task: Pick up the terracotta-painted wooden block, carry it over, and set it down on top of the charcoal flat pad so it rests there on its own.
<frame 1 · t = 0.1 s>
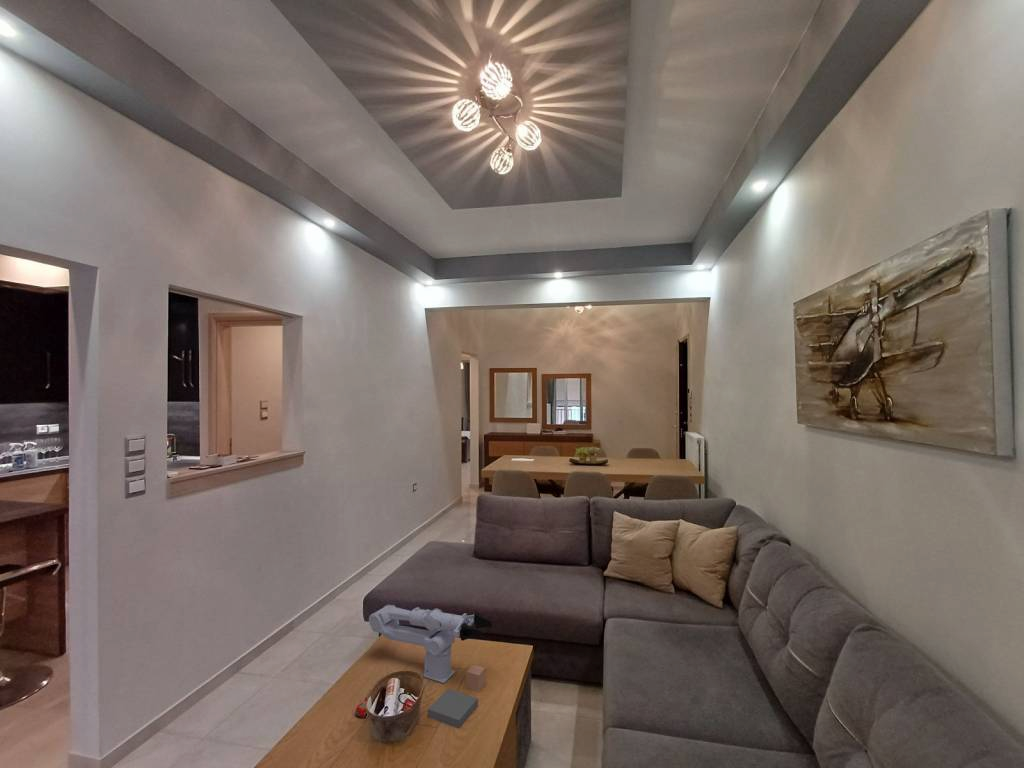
hand: (486, 628, 171), 22 cm above the table, tool horizontal, fingers open, 7 cm apart
race car: (374, 708, 161), on the table
terracotta block: (475, 686, 173), on the table
charcoal flat pad: (453, 712, 159), on the table
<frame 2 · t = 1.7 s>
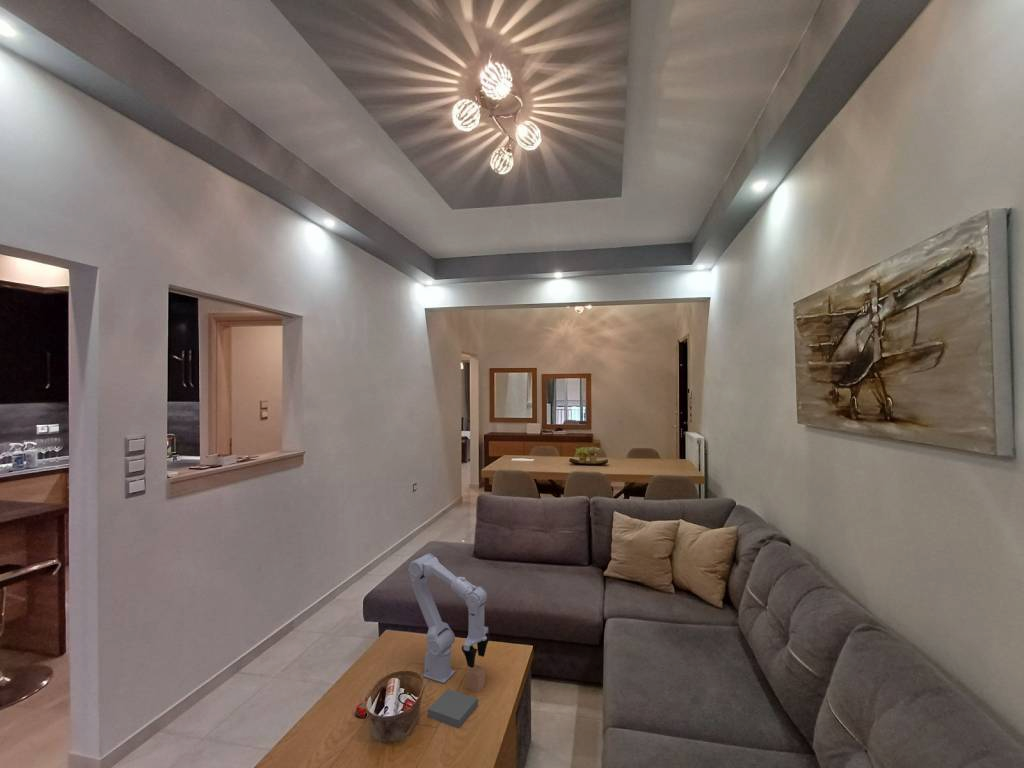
hand: (476, 661, 173), 9 cm above the table, tool pointing down, fingers open, 7 cm apart
nothing on the table moved.
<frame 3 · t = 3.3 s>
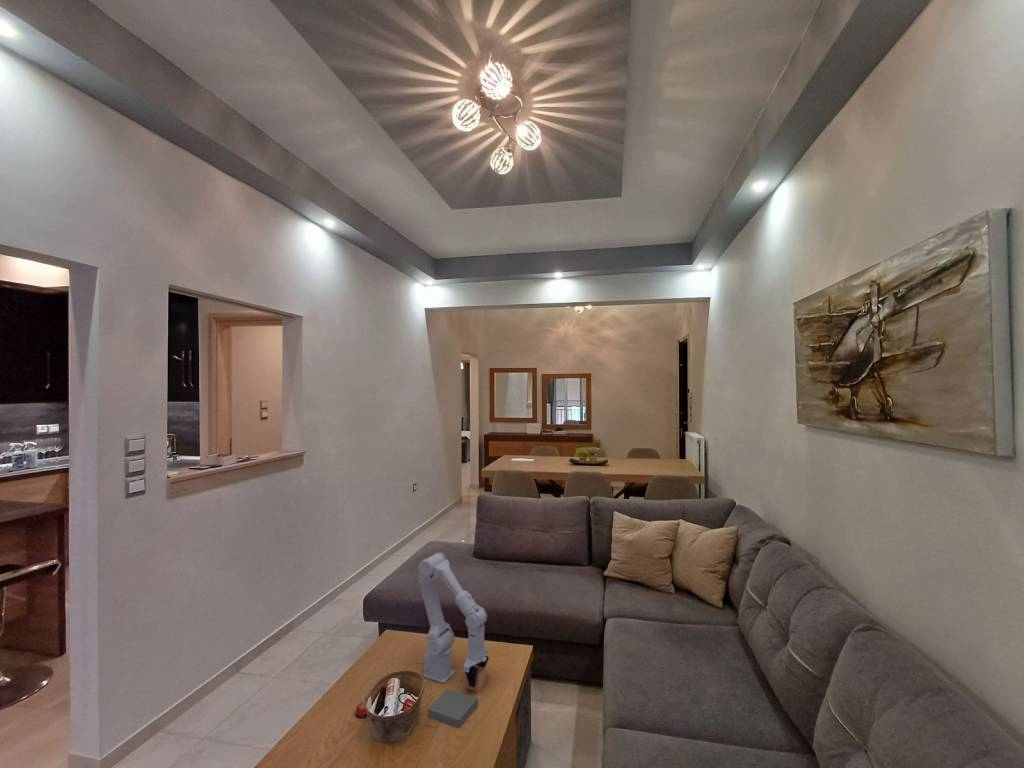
hand: (475, 681, 173), 2 cm above the table, tool pointing down, fingers closed on terracotta block, 5 cm apart
terracotta block: (475, 686, 173), on the table, touching gripper
everything else where it was.
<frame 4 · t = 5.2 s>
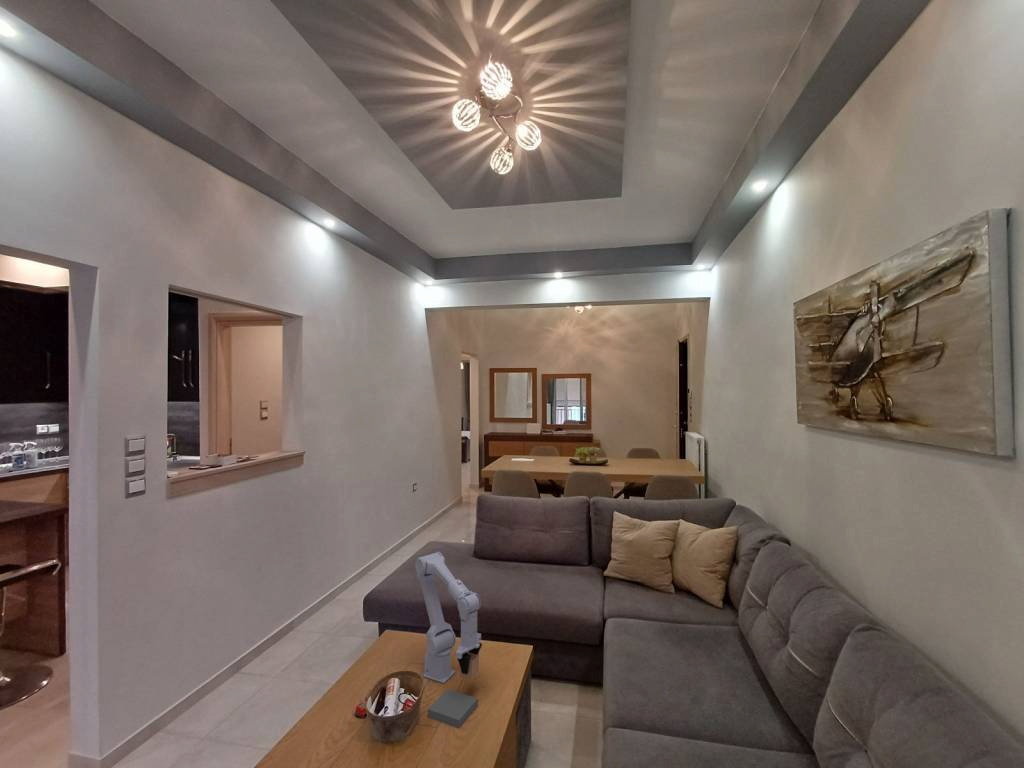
hand: (468, 669, 168), 9 cm above the table, tool pointing down, fingers closed on terracotta block, 5 cm apart
terracotta block: (469, 674, 168), point 7 cm above the table, touching gripper
everything else where it was.
when the fingers open (6 cm above the table, at t = 7.3 s): terracotta block drops 2 cm, point 2 cm above the table.
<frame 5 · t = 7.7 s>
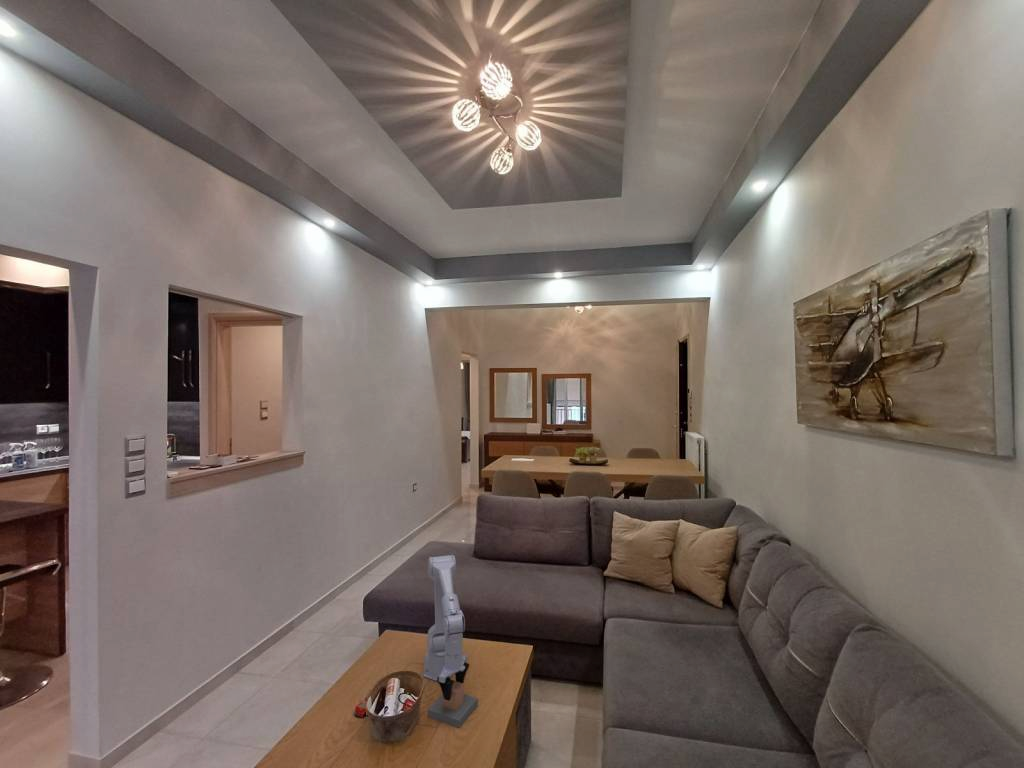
hand: (453, 692, 159), 6 cm above the table, tool pointing down, fingers open, 7 cm apart
terracotta block: (453, 704, 159), point 2 cm above the table
everything else where it was.
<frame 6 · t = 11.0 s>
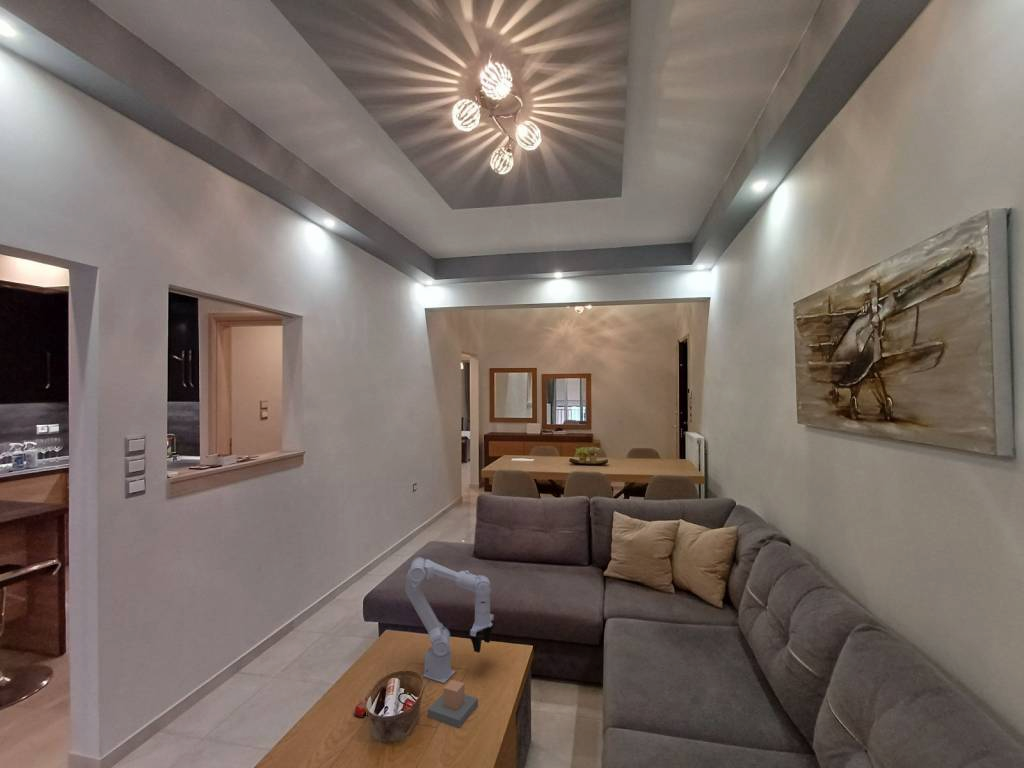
hand: (482, 646, 181), 10 cm above the table, tool pointing down, fingers open, 7 cm apart
nothing on the table moved.
at the end: terracotta block inside the target area on the charcoal flat pad (0.2 cm from its centre), point 3.0 cm above the charcoal flat pad's base; terracotta block touching nothing; the gripper is holding nothing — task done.
